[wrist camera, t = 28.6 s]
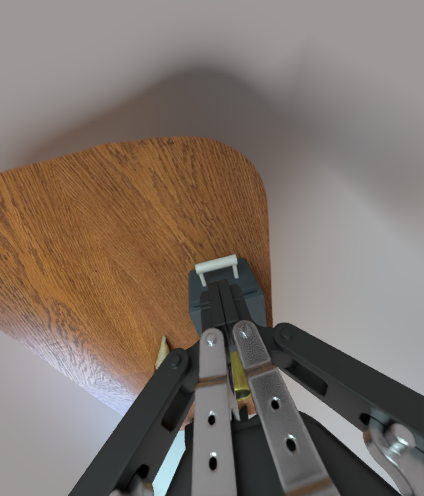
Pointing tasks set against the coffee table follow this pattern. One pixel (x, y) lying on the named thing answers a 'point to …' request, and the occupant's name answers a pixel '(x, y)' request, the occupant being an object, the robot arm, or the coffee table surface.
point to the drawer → (220, 276)
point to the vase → (239, 378)
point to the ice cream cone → (162, 353)
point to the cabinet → (253, 303)
